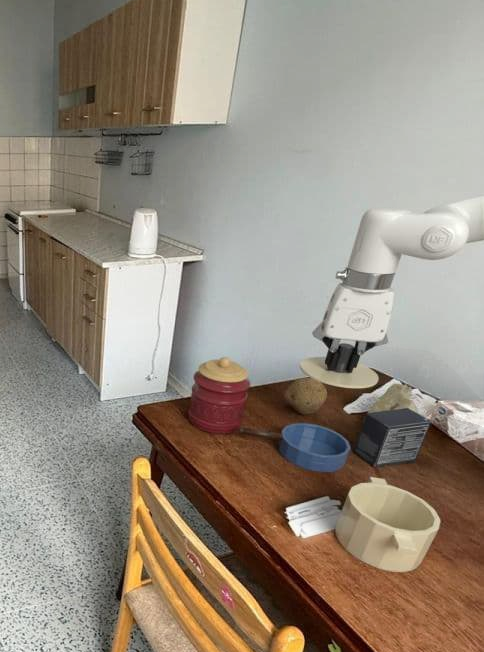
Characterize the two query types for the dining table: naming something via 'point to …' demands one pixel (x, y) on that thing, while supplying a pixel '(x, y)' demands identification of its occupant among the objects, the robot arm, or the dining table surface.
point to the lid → (340, 370)
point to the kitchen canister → (218, 396)
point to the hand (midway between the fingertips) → (339, 368)
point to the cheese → (395, 399)
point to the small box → (391, 437)
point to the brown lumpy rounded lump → (306, 395)
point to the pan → (314, 447)
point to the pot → (386, 526)
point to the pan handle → (260, 433)
